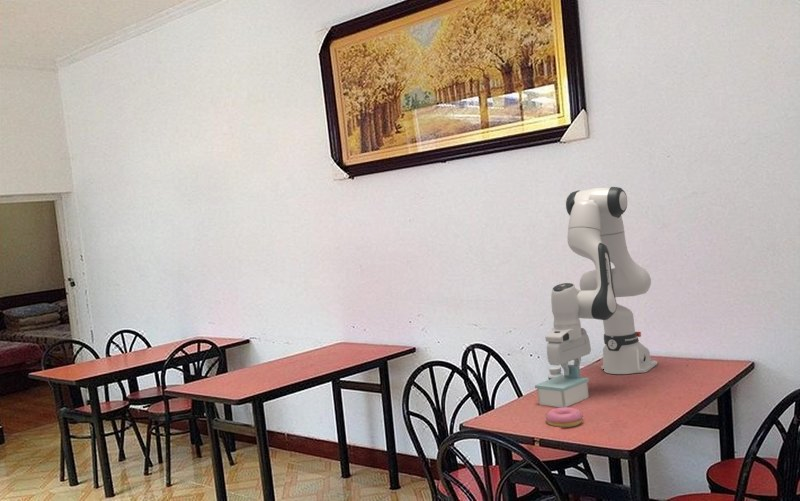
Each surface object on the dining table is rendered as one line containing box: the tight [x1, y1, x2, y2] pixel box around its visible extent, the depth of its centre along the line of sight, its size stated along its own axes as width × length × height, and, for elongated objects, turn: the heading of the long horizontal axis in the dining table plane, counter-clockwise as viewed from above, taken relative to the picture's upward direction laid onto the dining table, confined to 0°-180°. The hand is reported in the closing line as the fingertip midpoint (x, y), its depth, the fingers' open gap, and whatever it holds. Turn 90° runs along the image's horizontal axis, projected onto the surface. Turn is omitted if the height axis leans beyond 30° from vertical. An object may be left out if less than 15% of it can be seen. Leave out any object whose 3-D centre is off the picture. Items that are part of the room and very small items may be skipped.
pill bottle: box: [547, 366, 564, 380], centre depth 247 cm, size 5×5×9 cm
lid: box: [534, 364, 590, 392], centre depth 234 cm, size 15×11×5 cm
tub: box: [536, 382, 590, 408], centre depth 234 cm, size 14×10×6 cm
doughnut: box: [545, 406, 584, 429], centre depth 212 cm, size 11×11×4 cm
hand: (572, 372), depth 238 cm, fingers open, 4 cm apart
